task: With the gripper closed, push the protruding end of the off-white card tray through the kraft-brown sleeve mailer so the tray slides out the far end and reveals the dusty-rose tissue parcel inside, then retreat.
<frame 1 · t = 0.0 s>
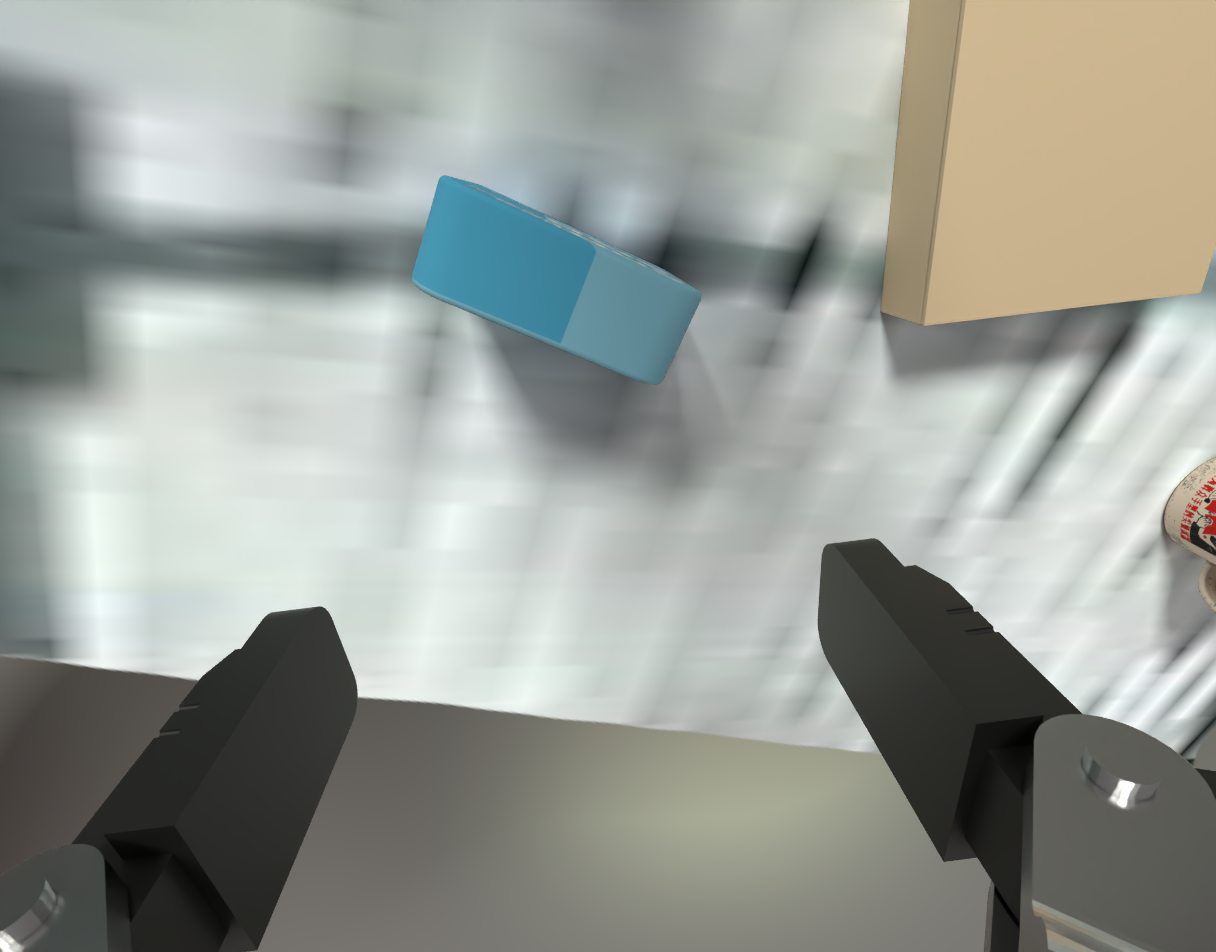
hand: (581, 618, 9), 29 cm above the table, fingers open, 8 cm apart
teacup with lid: (1202, 513, 46), on the table
mailer sleeve: (1031, 137, 33), on the table
data package: (561, 265, 35), on the table
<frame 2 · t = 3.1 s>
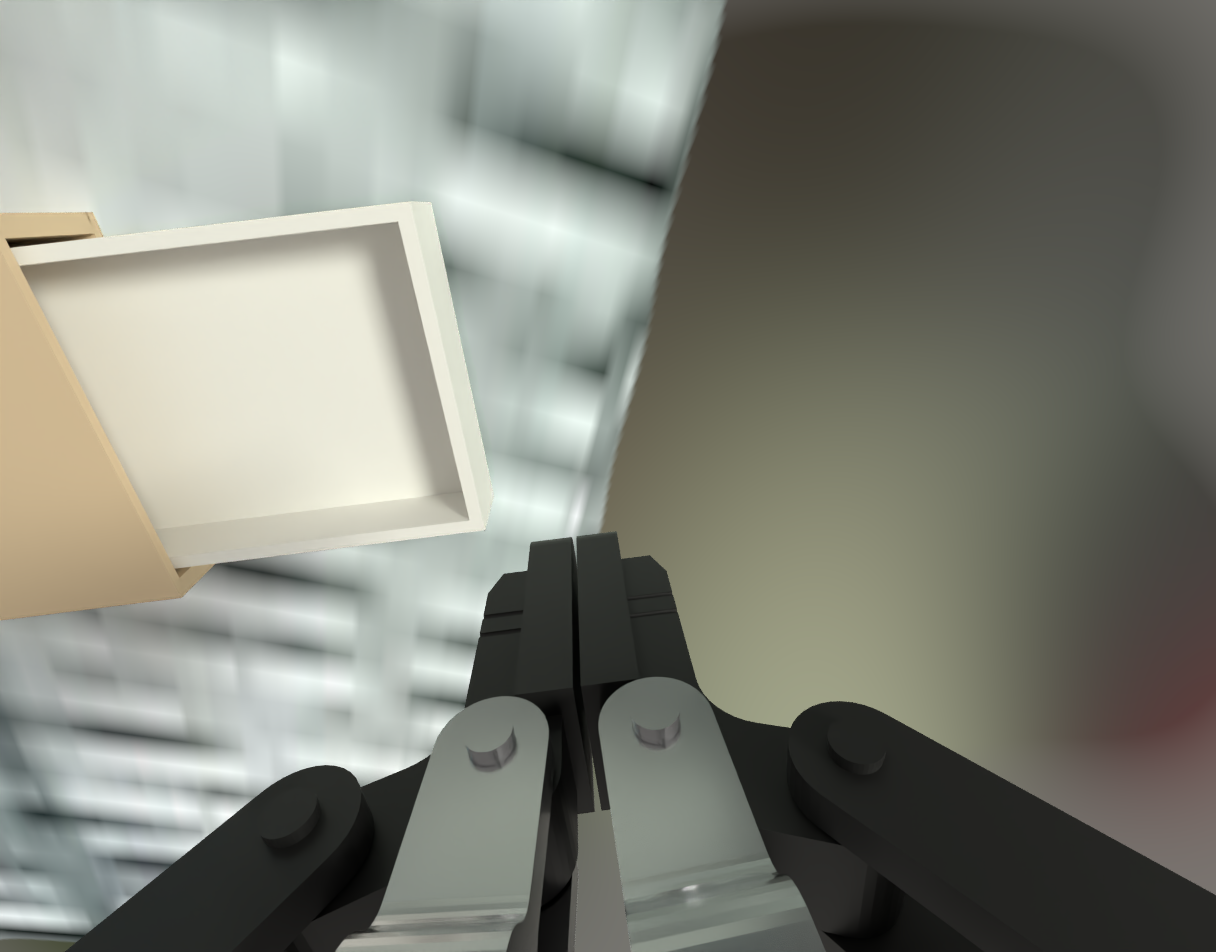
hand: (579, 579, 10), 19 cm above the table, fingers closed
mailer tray: (93, 419, 25), point 2 cm above the table, slide at 0.0 cm
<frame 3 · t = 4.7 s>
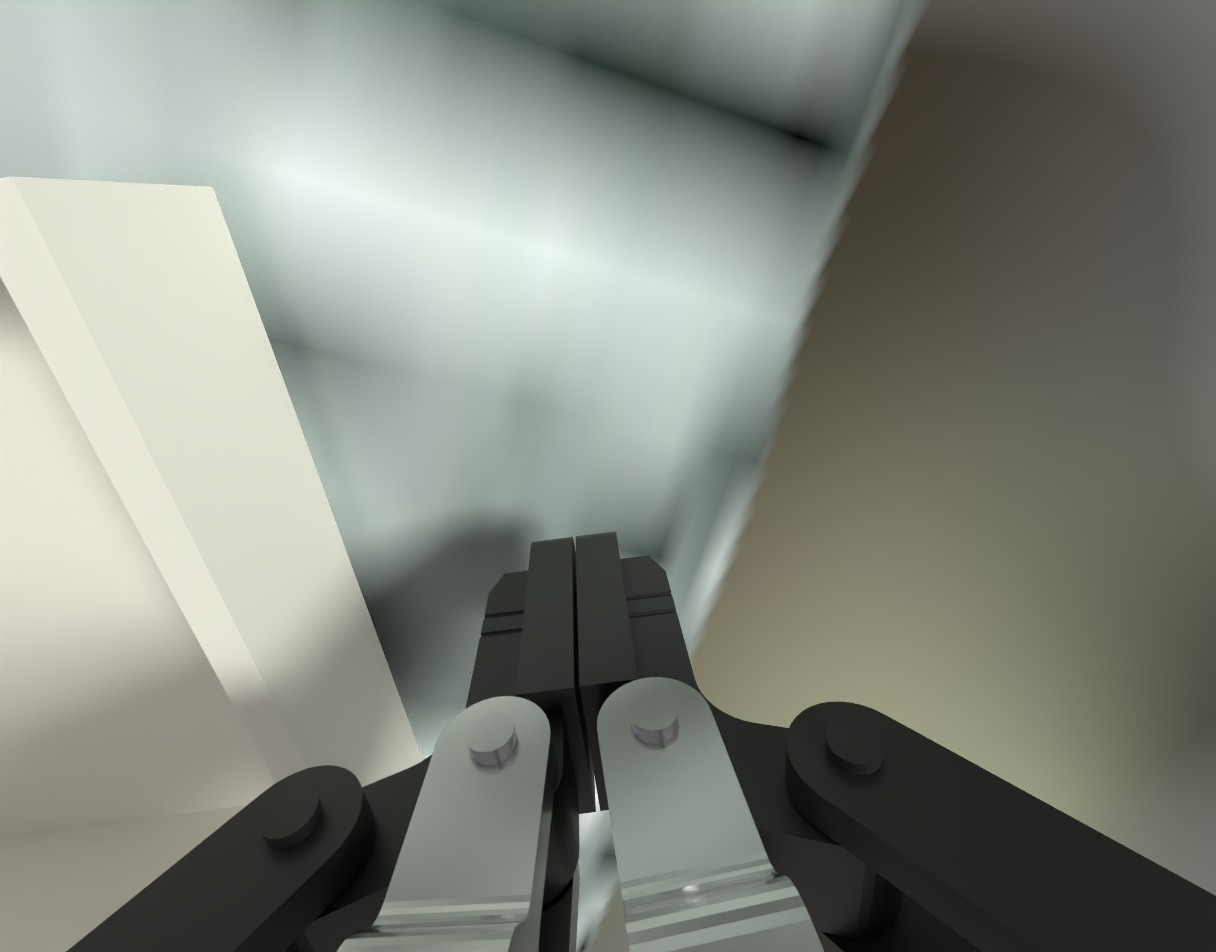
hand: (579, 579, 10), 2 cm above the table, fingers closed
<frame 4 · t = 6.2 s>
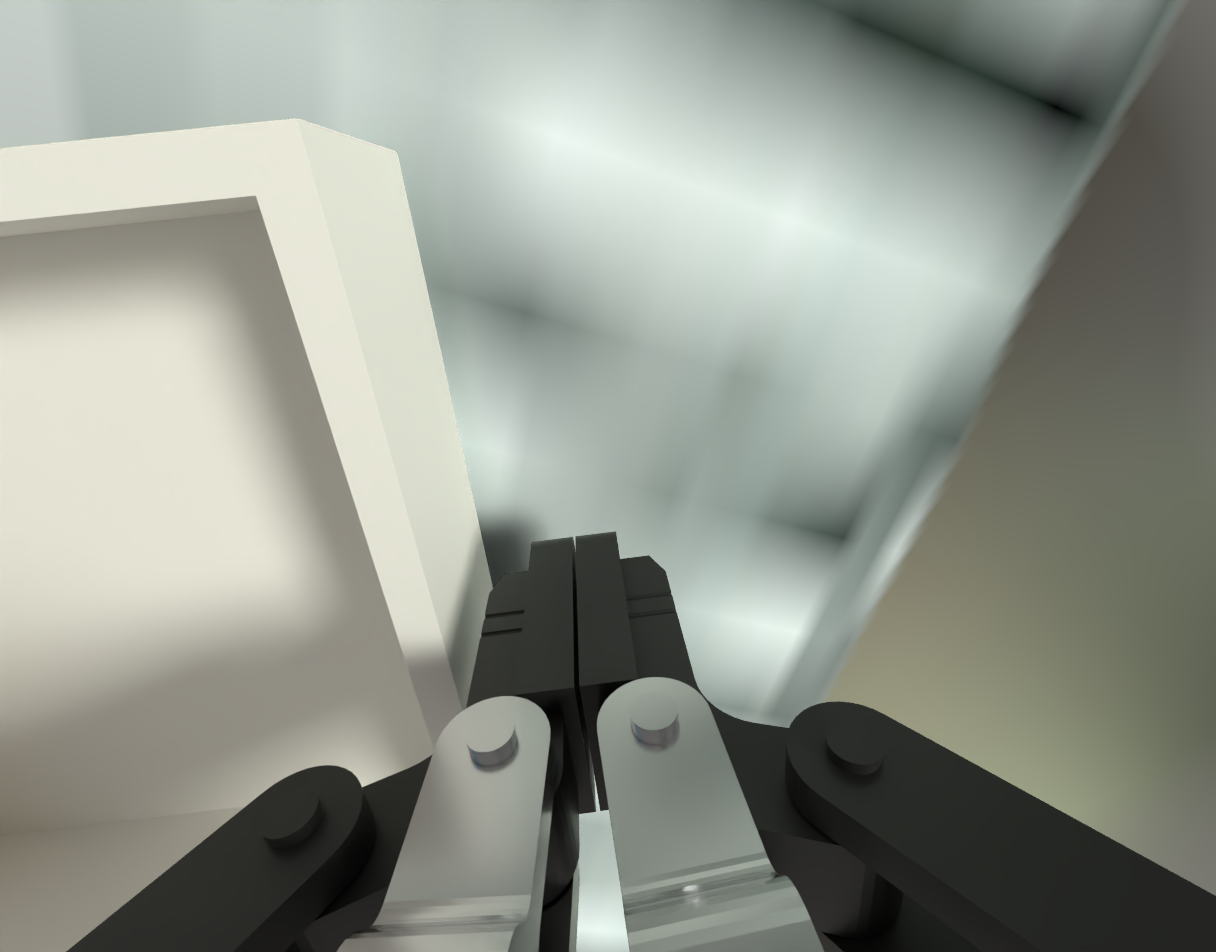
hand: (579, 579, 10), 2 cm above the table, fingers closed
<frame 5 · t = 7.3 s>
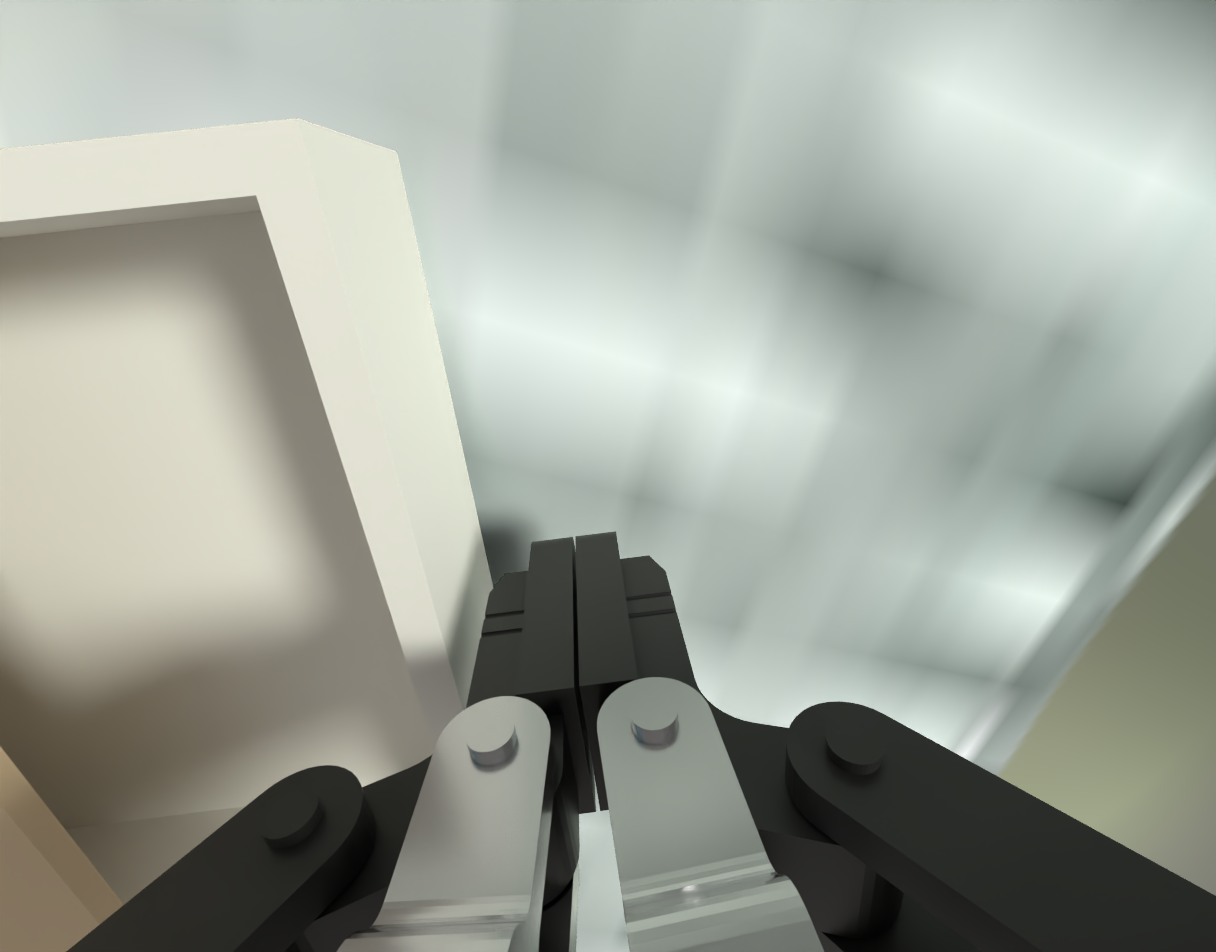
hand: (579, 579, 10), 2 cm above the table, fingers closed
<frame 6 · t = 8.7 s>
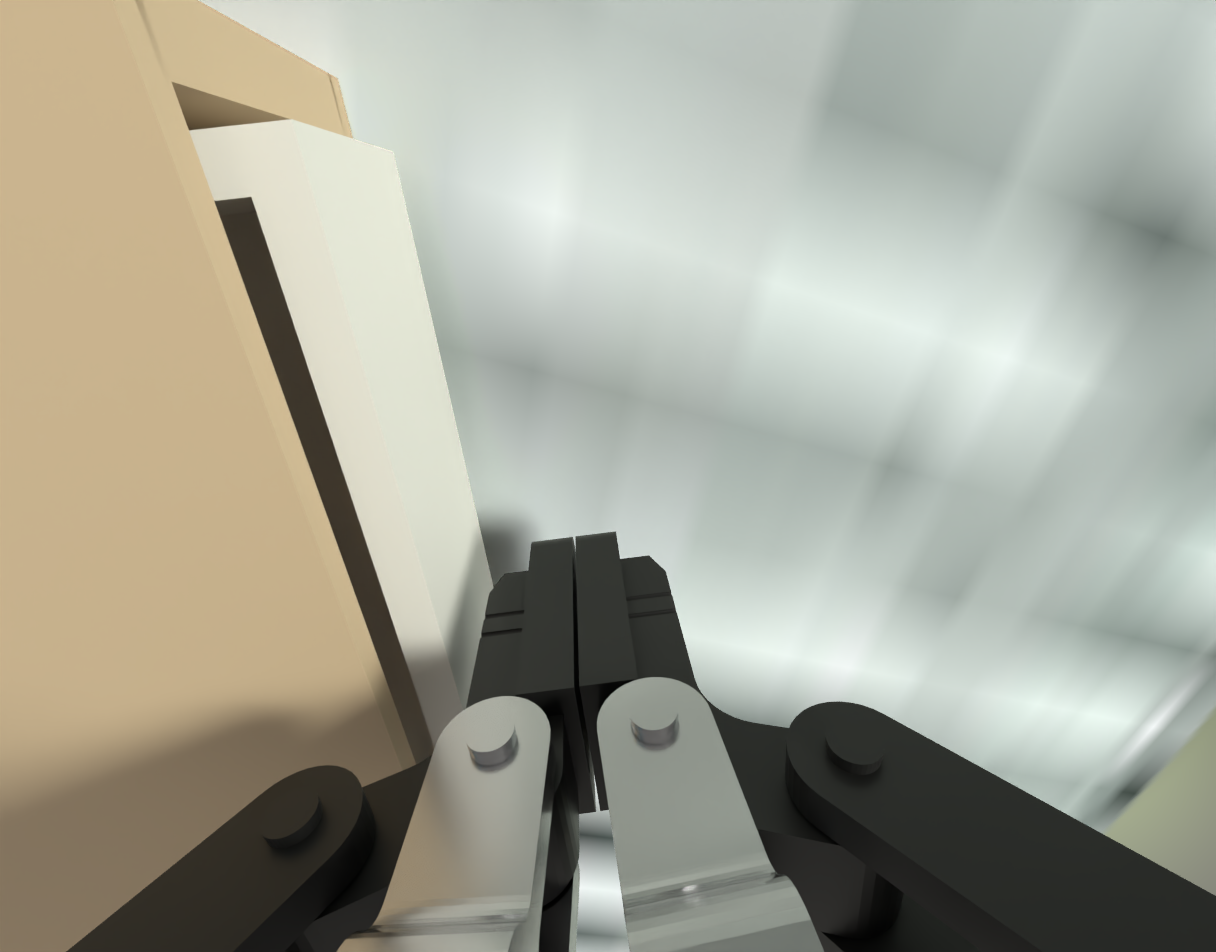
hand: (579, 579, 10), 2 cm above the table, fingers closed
mailer sleeve: (23, 582, 12), on the table
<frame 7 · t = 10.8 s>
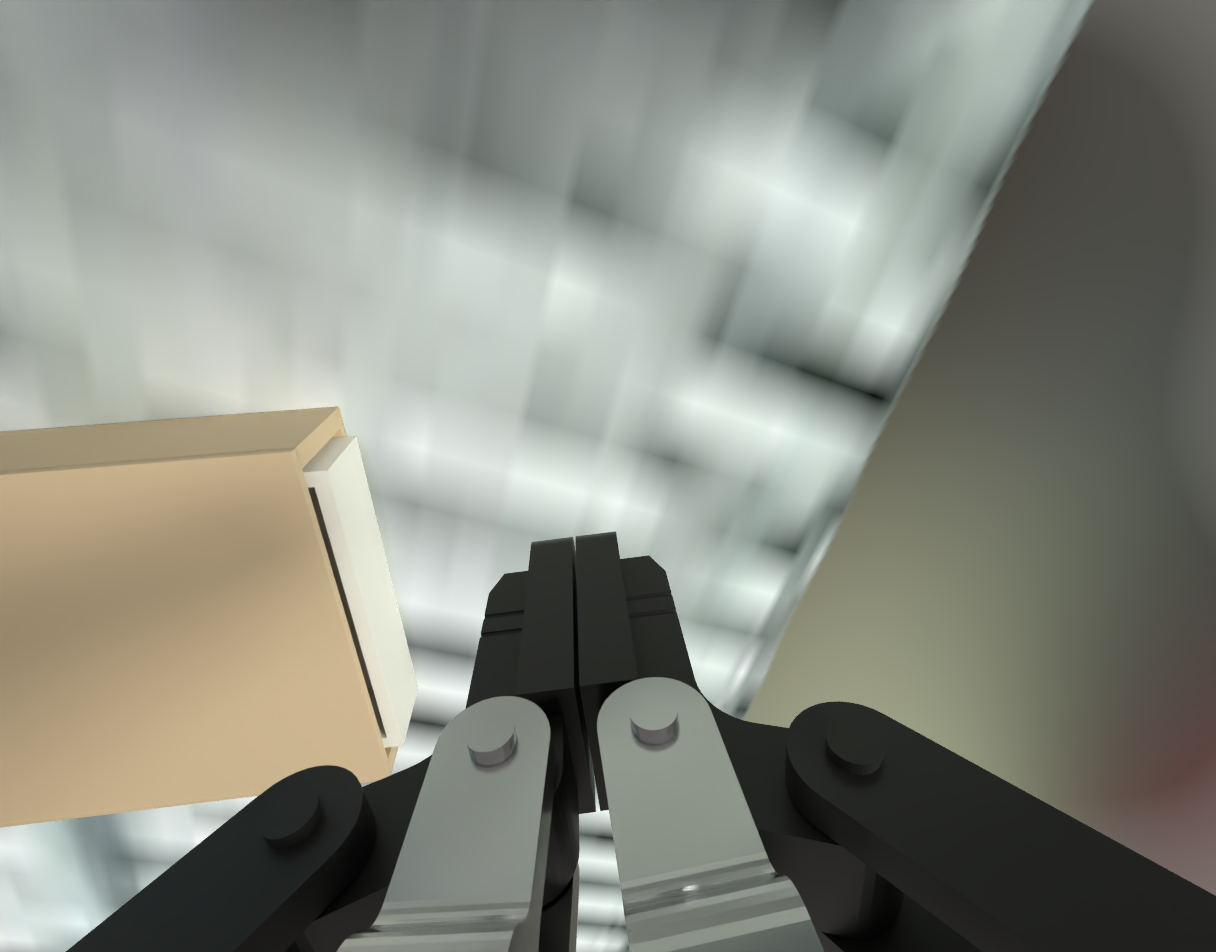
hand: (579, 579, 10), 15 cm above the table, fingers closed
mailer sleeve: (179, 588, 26), on the table
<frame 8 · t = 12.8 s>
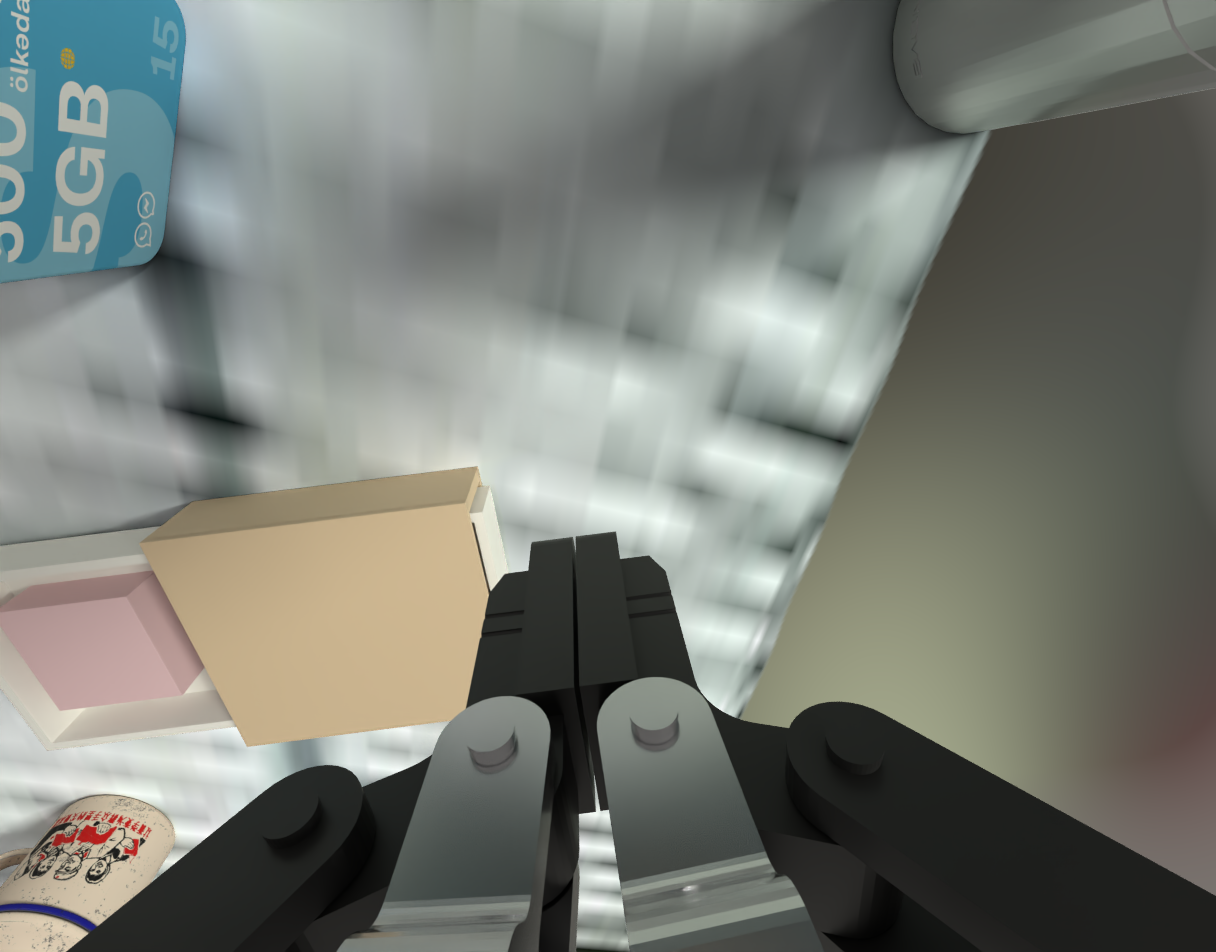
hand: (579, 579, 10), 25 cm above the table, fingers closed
teacup with lid: (104, 823, 48), on the table
mailer sleeve: (371, 587, 40), on the table
data package: (129, 123, 28), on the table
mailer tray: (261, 622, 37), point 2 cm above the table, slide at 13.4 cm
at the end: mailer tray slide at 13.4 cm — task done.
